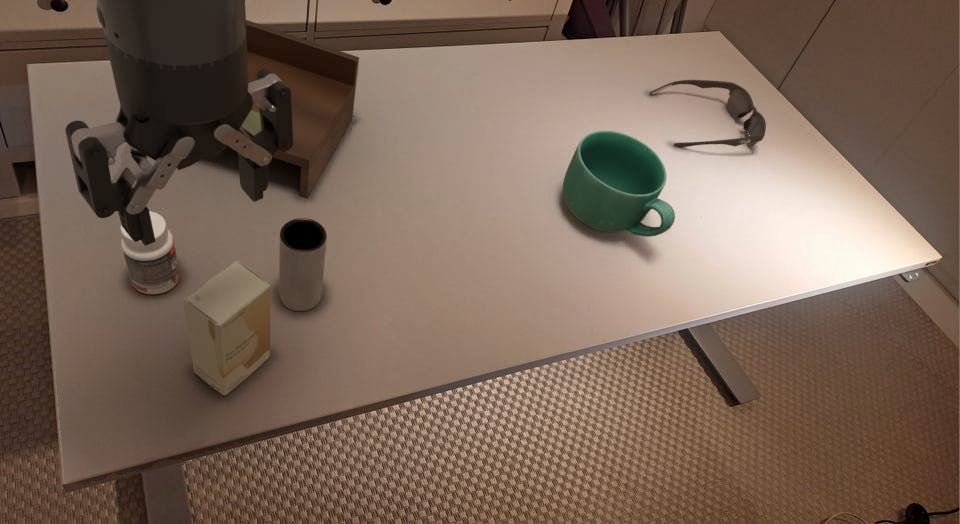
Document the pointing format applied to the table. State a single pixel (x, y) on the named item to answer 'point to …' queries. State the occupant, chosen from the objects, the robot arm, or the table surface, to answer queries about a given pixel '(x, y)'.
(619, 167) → the mug
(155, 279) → the pill bottle
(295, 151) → the shelf
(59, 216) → the table surface
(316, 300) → the grey cylindrical cup
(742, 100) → the sunglasses
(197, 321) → the cosmetic box
